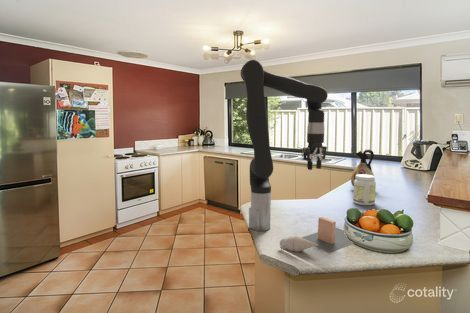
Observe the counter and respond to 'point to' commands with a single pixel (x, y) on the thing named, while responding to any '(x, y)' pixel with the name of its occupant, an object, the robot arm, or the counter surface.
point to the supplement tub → (364, 189)
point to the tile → (326, 230)
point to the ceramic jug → (363, 165)
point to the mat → (339, 243)
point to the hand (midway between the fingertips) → (314, 168)
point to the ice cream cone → (296, 243)
